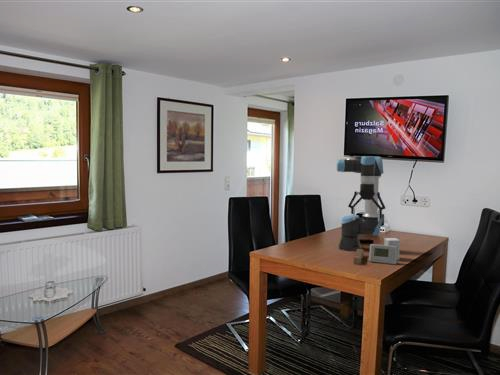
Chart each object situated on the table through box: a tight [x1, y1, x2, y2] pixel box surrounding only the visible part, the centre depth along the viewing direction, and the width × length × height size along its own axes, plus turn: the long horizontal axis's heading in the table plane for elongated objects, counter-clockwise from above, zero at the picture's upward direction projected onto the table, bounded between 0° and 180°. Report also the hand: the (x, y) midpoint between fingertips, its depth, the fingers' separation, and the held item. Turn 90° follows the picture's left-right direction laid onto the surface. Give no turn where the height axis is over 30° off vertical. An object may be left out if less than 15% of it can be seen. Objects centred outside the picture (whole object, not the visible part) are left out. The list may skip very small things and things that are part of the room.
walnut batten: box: [353, 248, 364, 266], centre depth 248 cm, size 24×4×4 cm, turn 160°
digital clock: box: [368, 243, 398, 265], centre depth 241 cm, size 16×9×11 cm, turn 57°
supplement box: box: [383, 237, 401, 261], centre depth 251 cm, size 7×7×13 cm
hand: (366, 220), depth 226 cm, fingers open, 13 cm apart
